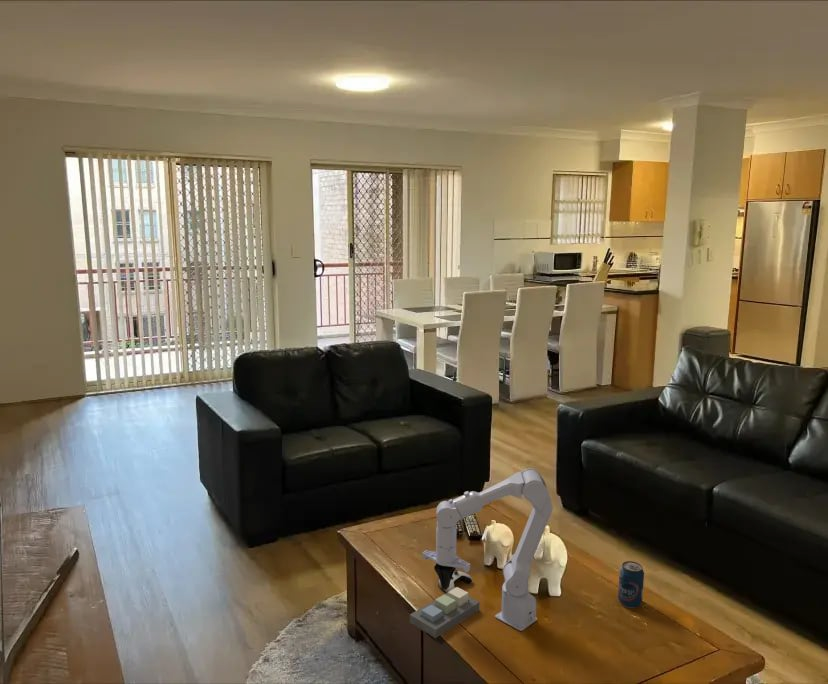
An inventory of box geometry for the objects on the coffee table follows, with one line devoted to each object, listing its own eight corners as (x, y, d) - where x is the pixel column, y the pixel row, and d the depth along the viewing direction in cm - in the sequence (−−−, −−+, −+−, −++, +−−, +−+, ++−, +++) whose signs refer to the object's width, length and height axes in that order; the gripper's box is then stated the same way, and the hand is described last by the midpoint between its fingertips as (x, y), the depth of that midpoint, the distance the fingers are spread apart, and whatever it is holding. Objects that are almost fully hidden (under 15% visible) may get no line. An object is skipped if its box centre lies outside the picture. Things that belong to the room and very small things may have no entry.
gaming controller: (454, 595, 203) (441, 575, 206) (442, 603, 207) (430, 583, 209) (475, 580, 212) (462, 560, 214) (463, 588, 216) (450, 569, 218)
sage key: (455, 611, 194) (455, 600, 193) (446, 617, 191) (446, 605, 190) (444, 605, 197) (444, 594, 196) (434, 610, 194) (435, 599, 194)
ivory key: (468, 603, 198) (468, 592, 197) (459, 609, 195) (459, 598, 194) (456, 597, 201) (456, 586, 200) (447, 602, 198) (447, 592, 197)
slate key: (442, 622, 190) (442, 610, 190) (432, 628, 187) (432, 616, 187) (431, 615, 193) (431, 604, 193) (421, 621, 190) (421, 610, 190)
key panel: (479, 610, 198) (479, 602, 197) (435, 638, 184) (435, 629, 184) (453, 596, 204) (453, 588, 204) (409, 622, 191) (409, 614, 191)
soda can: (615, 605, 200) (618, 568, 198) (620, 594, 206) (622, 558, 204) (639, 611, 197) (642, 574, 195) (643, 600, 203) (646, 563, 201)
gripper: (475, 544, 190) (474, 588, 192) (431, 531, 197) (430, 574, 200) (464, 555, 184) (463, 600, 186) (418, 541, 191) (418, 585, 194)
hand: (445, 587), depth 193 cm, fingers closed
